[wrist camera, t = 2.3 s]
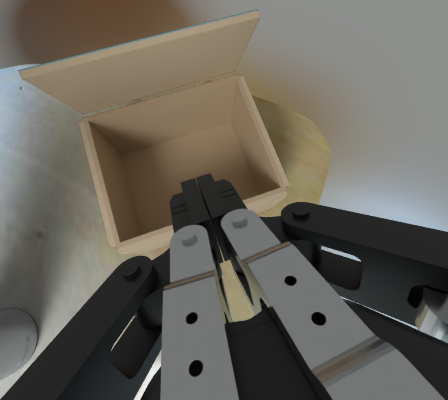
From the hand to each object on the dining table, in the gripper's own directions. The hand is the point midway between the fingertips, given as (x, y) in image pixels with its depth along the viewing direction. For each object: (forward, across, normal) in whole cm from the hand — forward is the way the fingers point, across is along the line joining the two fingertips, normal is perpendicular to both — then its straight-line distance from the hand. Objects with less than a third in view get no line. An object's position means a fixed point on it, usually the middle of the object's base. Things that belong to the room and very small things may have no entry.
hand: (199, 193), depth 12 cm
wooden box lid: (+21, 0, -4) cm, 21 cm away
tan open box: (+29, 0, +14) cm, 32 cm away
